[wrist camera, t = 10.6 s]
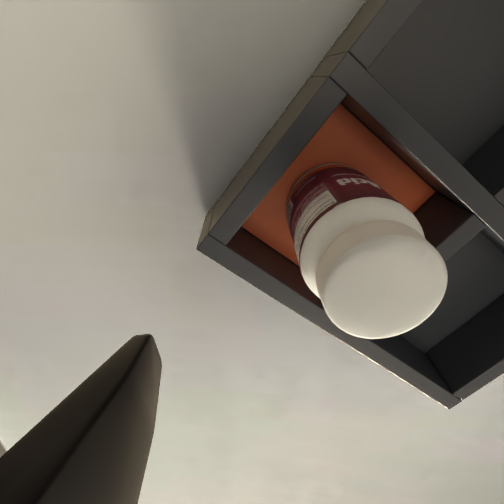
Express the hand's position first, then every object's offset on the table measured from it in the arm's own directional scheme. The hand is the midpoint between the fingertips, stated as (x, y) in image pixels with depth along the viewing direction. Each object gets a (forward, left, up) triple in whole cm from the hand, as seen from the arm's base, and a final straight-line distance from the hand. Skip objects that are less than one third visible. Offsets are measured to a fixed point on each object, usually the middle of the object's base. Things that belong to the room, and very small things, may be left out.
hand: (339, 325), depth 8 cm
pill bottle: (+2, -1, -11) cm, 11 cm away
